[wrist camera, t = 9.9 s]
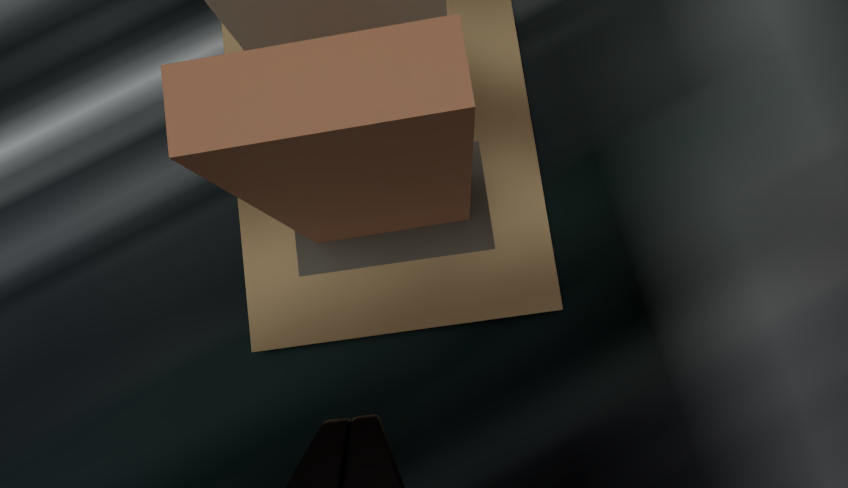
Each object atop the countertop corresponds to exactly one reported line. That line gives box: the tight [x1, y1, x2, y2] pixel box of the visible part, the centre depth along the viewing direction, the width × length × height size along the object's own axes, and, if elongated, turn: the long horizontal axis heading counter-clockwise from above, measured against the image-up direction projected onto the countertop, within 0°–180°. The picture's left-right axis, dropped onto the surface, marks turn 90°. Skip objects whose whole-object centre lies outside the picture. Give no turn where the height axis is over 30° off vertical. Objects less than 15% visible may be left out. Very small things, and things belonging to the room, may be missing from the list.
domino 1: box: [204, 0, 447, 51], centre depth 15 cm, size 2×5×10 cm, turn 98°
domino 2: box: [161, 13, 475, 244], centre depth 15 cm, size 2×5×10 cm, turn 98°
